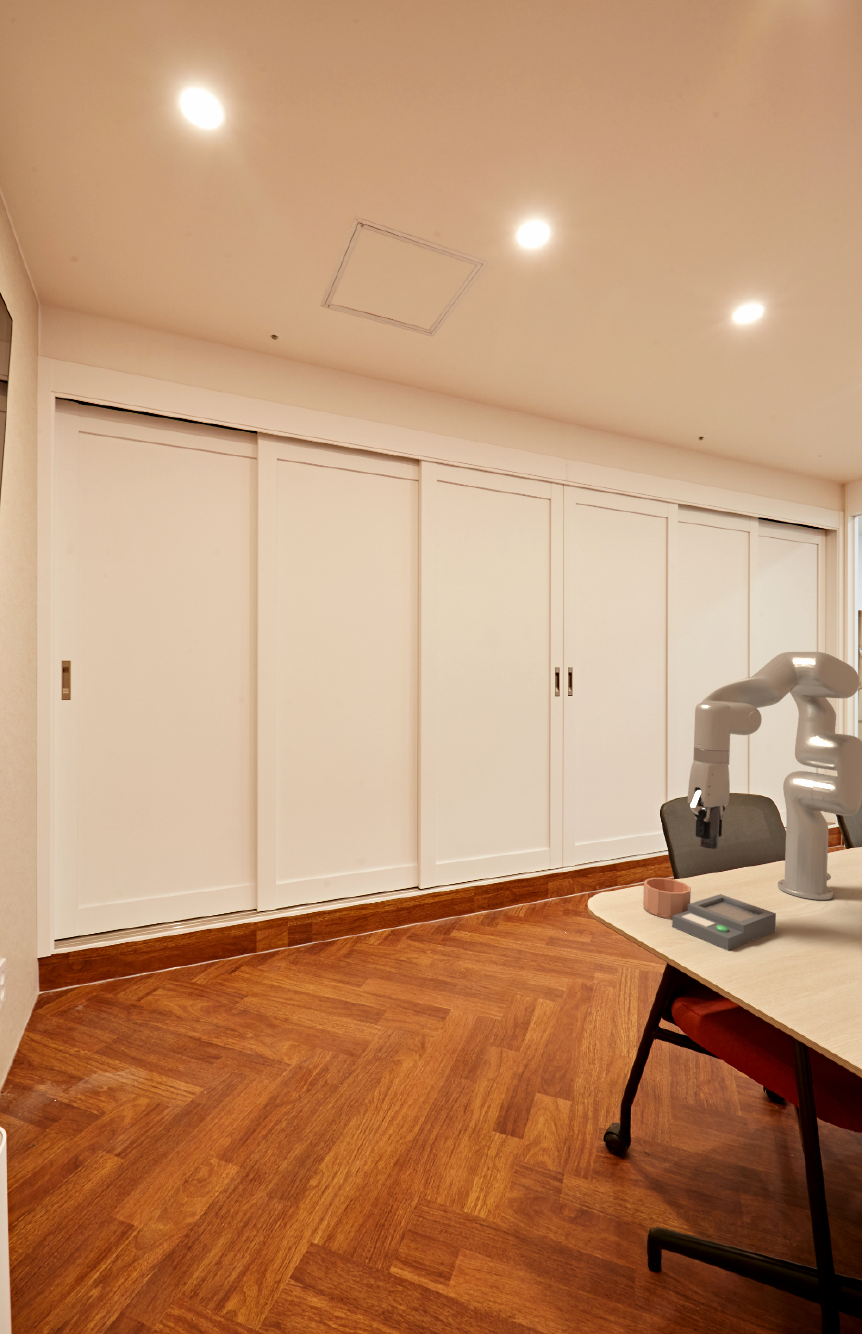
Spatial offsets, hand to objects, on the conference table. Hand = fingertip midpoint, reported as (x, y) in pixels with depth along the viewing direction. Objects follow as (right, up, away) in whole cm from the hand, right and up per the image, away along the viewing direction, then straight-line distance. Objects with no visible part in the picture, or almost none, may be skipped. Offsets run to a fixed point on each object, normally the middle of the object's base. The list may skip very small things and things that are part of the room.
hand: (708, 835), depth 141 cm
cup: (-8, -19, +5) cm, 21 cm away
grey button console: (+1, -20, -4) cm, 20 cm away
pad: (+4, -17, -3) cm, 18 cm away
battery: (0, -2, 0) cm, 2 cm away
